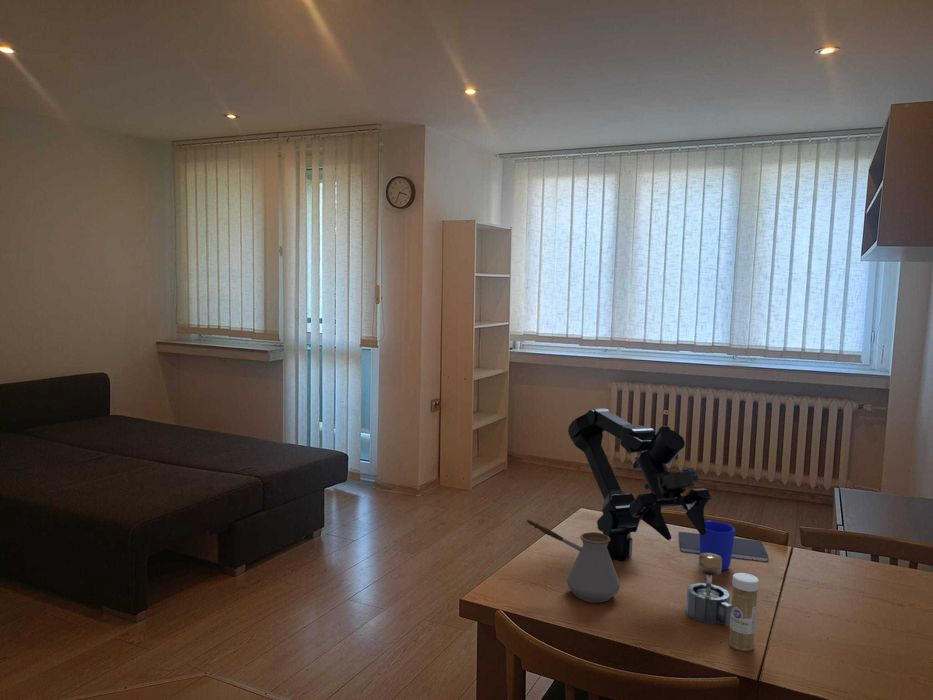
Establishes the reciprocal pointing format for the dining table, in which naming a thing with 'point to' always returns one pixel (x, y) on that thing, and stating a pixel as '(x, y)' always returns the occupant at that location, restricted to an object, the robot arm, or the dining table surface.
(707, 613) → the press body
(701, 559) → the plunger
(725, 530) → the mug
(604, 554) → the coffee pot
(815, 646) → the dining table surface
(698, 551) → the notebook
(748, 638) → the sprinkles bottle
